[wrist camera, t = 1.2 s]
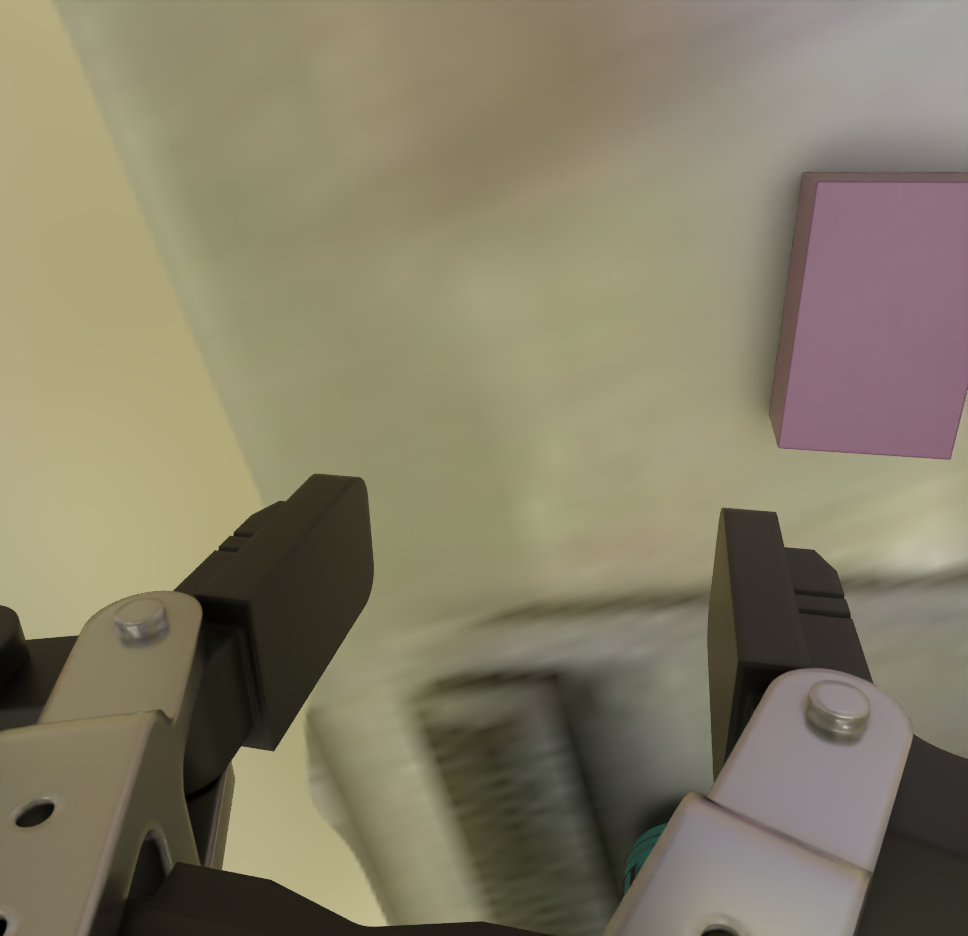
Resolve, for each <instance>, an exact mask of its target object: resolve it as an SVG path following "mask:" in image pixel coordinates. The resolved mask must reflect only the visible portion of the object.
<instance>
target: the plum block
mask: <svg viewBox="0 0 968 936" xmlns="http://www.w3.org/2000/svg"><path fill="white" fill-rule="evenodd" d="M967 390H968V172H805V173H803V174H802V181H801V189H800V196H799V203H798V210H797V217H796V225H795V232H794V239H793V246H792V253H791V261H790V268H789V275H788V282H787V289H786V297H785V304H784V311H783V318H782V326H781V333H780V340H779V347H778V354H777V362H776V369H775V376H774V383H773V390H772V398H771V405H770V412H769V416H770V420H771V423H772V427H773V431H774V434H775V438H776V442H777V445H778V448H785V449H800V450H815V451H830V452H845V453H859V454H874V455H889V456H904V457H919V458H934V459H948V460H949V459H951V455H952V451H953V447H954V443H955V439H956V435H957V430H958V426H959V422H960V418H961V414H962V410H963V406H964V402H965V398H966V394H967Z"/></svg>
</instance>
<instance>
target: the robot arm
mask: <svg viewBox="0 0 968 936" xmlns="http://www.w3.org/2000/svg"><path fill="white" fill-rule="evenodd" d="M373 576H374V562H373V550H372V539H371V527H370V516H369V504H368V494H367V488H366V485H365V482H364V480H363V479H362V478H360V477H350V476H338V475H326V474H313V475H312V476H311V477H309V478H308V480H307V481H306V482H305V483H304V484H303V485H302V486H301V487H300V488H299V489H298V490H297V491H296V492H295V493H294V494H293V495H292V496H291V497H290V498H289V499H288V500H287V501H278V502H276V503H274V504H272V505H270V506H268V507H266V508H265V509H263V510H261V511H259V512H257V513H255V514H253V515H251V516H250V517H249V518H248V519H247V520H246V521H245V522H244V523H243V524H242V525H241V526H240V527H239V528H238V529H237V530H236V531H235V532H234V535H233V536H229V537H228V538H227V539H226V540H225V541H224V542H223V543H222V544H221V545H220V546H219V550H218V551H216V550H215V551H214V552H213V553H212V554H211V555H210V556H209V557H208V558H207V559H206V560H205V561H204V562H203V563H201V564H200V565H199V566H198V567H197V568H196V569H195V570H194V571H193V572H192V573H191V574H190V575H189V576H188V577H187V578H186V579H185V580H184V581H183V582H182V583H181V584H180V585H179V586H178V587H177V588H176V589H175V590H173V591H153V592H147V593H141V594H137V595H133V596H130V597H126V598H123V599H121V600H119V601H116V602H114V603H112V604H110V605H108V606H106V607H104V608H103V609H101V610H100V611H98V612H97V613H96V614H95V615H93V616H92V617H91V618H90V619H89V620H88V621H87V623H86V624H85V625H84V627H83V628H82V630H81V632H80V634H79V635H78V636H67V637H56V638H44V639H32V640H25V637H24V634H23V631H22V627H21V624H20V621H19V618H18V615H17V614H16V612H15V611H13V610H12V609H10V608H8V607H6V606H1V605H0V936H554V935H549V934H543V933H538V932H533V931H528V930H523V929H518V928H513V927H508V926H503V925H498V924H493V923H487V922H461V923H441V924H421V925H401V926H383V927H367V926H362V925H359V924H356V923H354V922H351V921H350V920H347V919H346V918H343V917H342V916H340V915H338V914H336V913H334V912H332V911H330V910H328V909H326V908H324V907H322V906H320V905H319V904H317V903H315V902H313V901H311V900H309V899H307V898H305V897H303V896H301V895H299V894H297V893H295V892H293V891H291V890H289V889H287V888H286V887H284V886H282V885H280V884H278V883H276V882H274V881H272V880H269V879H264V878H258V877H254V876H248V875H243V874H238V873H233V872H228V871H223V870H222V865H223V858H224V852H225V844H226V838H227V831H228V825H229V818H230V811H231V805H232V798H233V791H234V782H235V777H234V772H233V766H232V761H231V760H232V759H233V757H234V756H235V754H236V753H237V751H238V750H239V748H240V747H241V746H244V747H251V748H256V749H263V750H269V751H274V750H275V749H276V747H277V746H278V744H279V743H280V741H281V739H282V738H283V736H284V735H285V733H286V731H287V730H288V728H289V727H290V725H291V723H292V722H293V720H294V719H295V717H296V715H297V714H298V712H299V711H300V709H301V707H302V706H303V704H304V703H305V701H306V699H307V698H308V696H309V695H310V693H311V692H312V690H313V688H314V687H315V685H316V684H317V682H318V680H319V679H320V677H321V676H322V674H323V672H324V671H325V669H326V668H327V666H328V664H329V663H330V661H331V660H332V658H333V656H334V655H335V653H336V652H337V650H338V648H339V647H340V645H341V644H342V642H343V640H344V639H345V637H346V636H347V634H348V632H349V631H350V629H351V628H352V626H353V624H354V623H355V621H356V620H357V618H358V616H359V615H360V613H361V612H362V610H363V608H364V607H365V605H366V603H367V601H368V599H369V596H370V593H371V589H372V584H373ZM850 615H851V613H850V610H849V607H848V604H847V601H846V599H844V592H843V589H842V586H841V583H840V580H839V577H838V574H837V571H836V570H835V569H834V568H833V567H832V566H831V565H829V564H828V563H827V562H826V561H825V560H824V559H823V558H822V557H821V556H820V555H819V554H818V553H817V552H816V551H815V550H809V549H798V548H787V547H784V544H783V539H782V535H781V530H780V526H779V522H778V517H777V514H776V512H769V511H757V510H744V509H732V508H722V509H721V513H720V518H719V525H718V534H717V542H716V551H715V559H714V568H713V577H712V585H711V594H710V603H709V614H708V636H707V644H708V667H709V689H710V711H711V733H712V756H713V778H714V784H713V786H712V788H711V790H710V792H709V793H708V795H707V796H704V795H701V794H699V793H697V792H695V791H691V792H689V793H688V794H687V795H686V796H685V797H684V799H683V800H682V801H681V803H680V804H679V806H678V807H677V809H676V810H675V812H674V814H673V815H672V817H671V819H670V821H669V822H668V824H667V826H666V827H665V829H664V831H663V832H662V834H661V836H660V837H659V839H658V841H657V842H656V844H655V846H654V847H653V849H652V851H651V853H650V854H649V856H648V858H647V859H646V861H645V863H644V864H643V866H642V868H641V869H640V871H639V873H638V874H637V876H636V878H635V879H634V881H633V883H632V884H631V886H630V888H629V890H628V891H627V893H626V895H625V896H624V898H623V900H622V901H621V903H620V905H619V906H618V908H617V910H616V911H615V913H614V915H613V916H612V918H611V920H610V922H609V923H608V925H607V927H606V928H605V930H604V932H603V933H602V935H601V936H968V759H966V758H963V757H960V756H957V755H954V754H952V753H949V752H947V751H944V750H942V749H940V748H937V747H935V746H933V745H931V744H929V743H927V742H926V741H924V740H922V739H920V738H919V737H917V736H915V735H914V734H913V726H912V722H911V720H910V718H909V715H908V714H907V712H906V711H905V710H904V708H903V707H902V706H901V705H900V704H899V703H898V701H897V700H896V699H895V698H893V697H892V696H891V695H890V694H888V693H887V692H886V691H884V690H883V689H881V688H879V687H878V686H876V685H874V684H873V681H872V678H871V675H870V672H869V669H868V666H867V663H866V660H865V656H864V653H863V650H862V647H861V644H860V641H859V638H858V635H857V632H856V629H855V626H854V623H853V620H852V619H850Z"/></svg>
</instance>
